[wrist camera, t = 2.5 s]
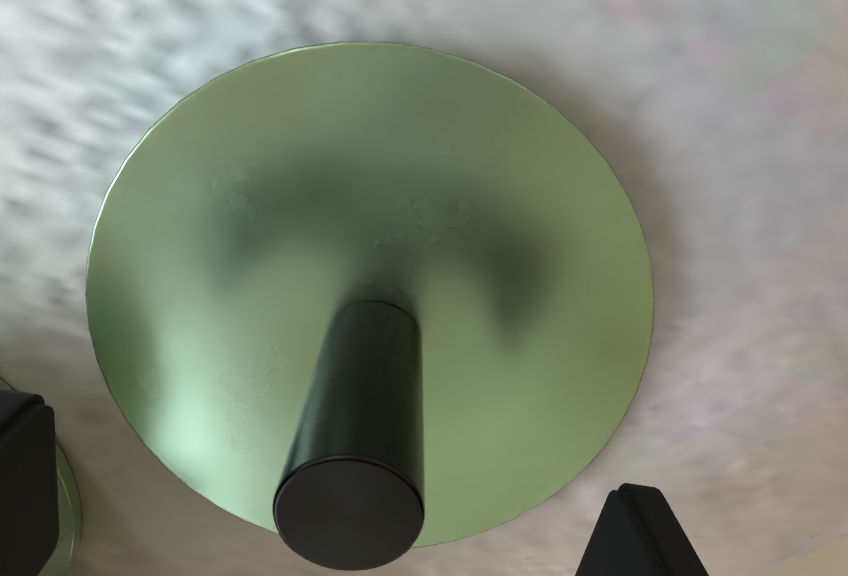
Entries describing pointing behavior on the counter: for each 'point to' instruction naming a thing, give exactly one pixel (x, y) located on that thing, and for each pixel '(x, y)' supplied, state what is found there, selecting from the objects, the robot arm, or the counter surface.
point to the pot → (63, 516)
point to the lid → (369, 298)
